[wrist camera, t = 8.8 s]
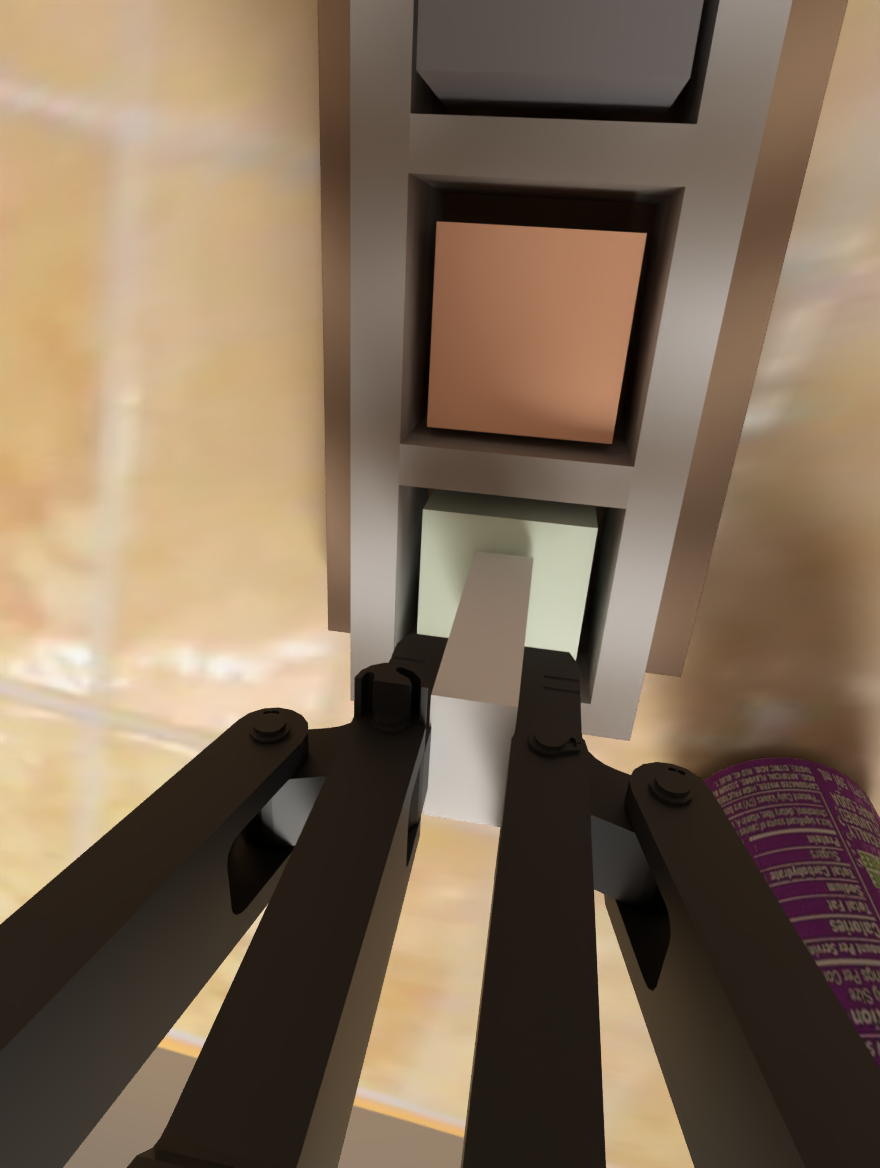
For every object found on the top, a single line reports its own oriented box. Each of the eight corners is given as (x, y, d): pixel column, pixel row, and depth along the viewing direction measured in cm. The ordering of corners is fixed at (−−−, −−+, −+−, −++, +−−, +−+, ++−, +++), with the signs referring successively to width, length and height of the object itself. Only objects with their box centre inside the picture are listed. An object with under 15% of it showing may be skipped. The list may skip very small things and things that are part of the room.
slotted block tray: (338, -642, 14) (172, -1302, 8) (990, -707, 12) (1375, -1579, 6) (344, 604, 26) (280, 704, 20) (672, 646, 24) (705, 767, 19)
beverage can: (802, 906, 28) (946, 1297, 18) (641, 845, 28) (687, 1199, 18) (909, 785, 25) (1163, 1173, 14) (727, 717, 25) (847, 1053, 15)
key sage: (441, 476, 20) (423, 509, 18) (593, 491, 20) (597, 528, 17) (433, 608, 22) (415, 656, 19) (572, 626, 22) (572, 677, 19)
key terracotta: (456, 227, 17) (436, 221, 15) (633, 237, 17) (646, 233, 14) (446, 403, 19) (426, 426, 17) (605, 417, 19) (611, 443, 16)
